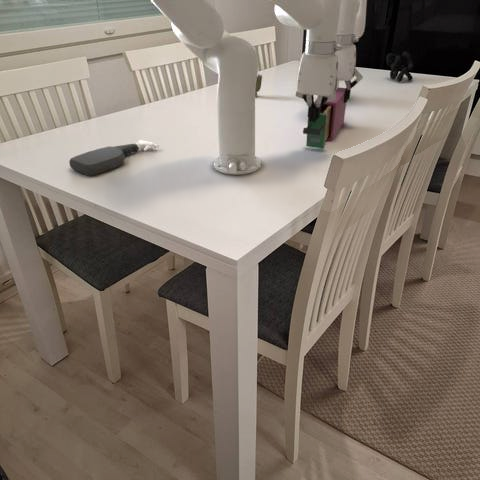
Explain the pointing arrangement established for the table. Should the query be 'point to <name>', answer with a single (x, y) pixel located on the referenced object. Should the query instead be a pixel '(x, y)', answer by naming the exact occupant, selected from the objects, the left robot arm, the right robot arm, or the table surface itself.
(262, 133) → the table surface
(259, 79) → the cup
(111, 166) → the spray bottle
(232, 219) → the table surface
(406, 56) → the squiggle
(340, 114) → the tall purple box
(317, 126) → the drawer
